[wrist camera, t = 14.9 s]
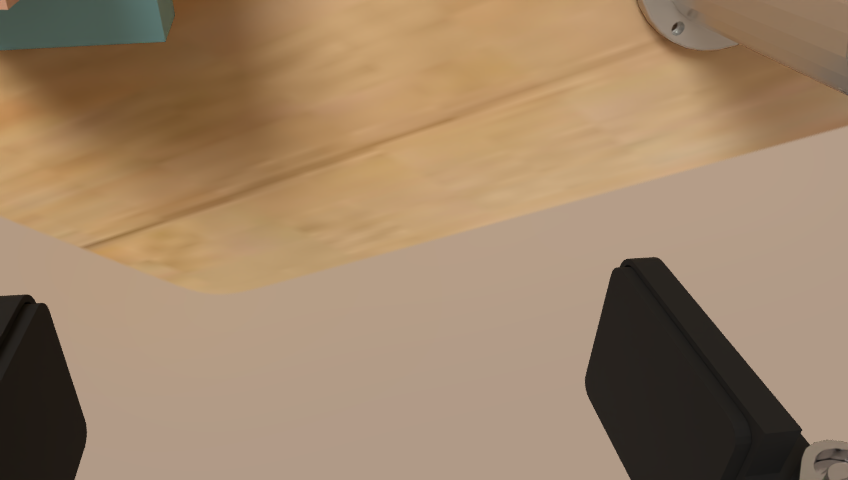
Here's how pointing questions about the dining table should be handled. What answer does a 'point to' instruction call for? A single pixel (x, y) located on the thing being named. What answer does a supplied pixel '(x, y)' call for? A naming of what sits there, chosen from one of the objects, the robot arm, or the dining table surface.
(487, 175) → the dining table surface
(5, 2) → the terracotta block
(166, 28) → the teal slab
